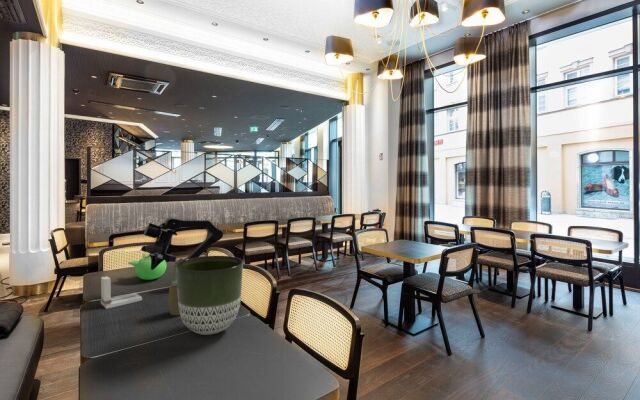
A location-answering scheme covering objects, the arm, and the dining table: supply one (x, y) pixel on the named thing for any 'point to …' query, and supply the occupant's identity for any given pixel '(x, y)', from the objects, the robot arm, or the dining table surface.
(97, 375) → the dining table surface
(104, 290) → the handle
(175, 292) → the squeeze bottle
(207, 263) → the planter
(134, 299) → the fader deck
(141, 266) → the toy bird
